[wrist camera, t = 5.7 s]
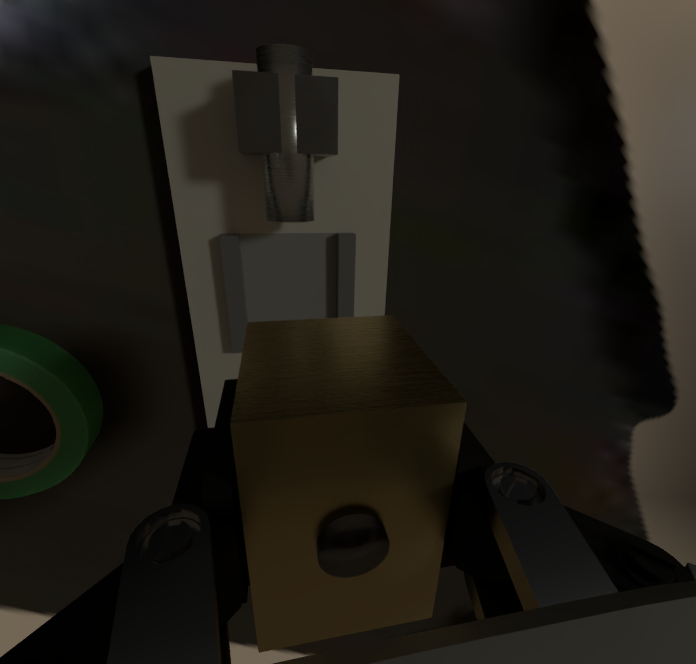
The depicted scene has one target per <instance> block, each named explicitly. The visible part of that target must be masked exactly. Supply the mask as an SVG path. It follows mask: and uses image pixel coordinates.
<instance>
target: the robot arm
mask: <svg viewBox="0 0 696 664" xmlns="http://www.w3.org/2000/svg"><path fill="white" fill-rule="evenodd" d="M237 381H238V379H229V380H225V382H224V386H223V391H222V395H221V400H220V404H219V409H218V413H217V418H216V422H215V426H214V427H213V428H203V429H196V430H195V431H194V433H193V436H192V439H191V443H190V446H189V449H188V453H187V456H186V459H185V463H184V466H183V469H182V473H181V476H180V479H179V483H178V486H177V490H176V493H175V496H174V500H173V503H172V505H169V506H167V507H164V508H161V509H159V510H157V511H155V512H154V513H152V514H150V515H149V516H147V517H146V518H145V519H144V520H143V521H141V522H140V523H139V524H138V525H137V526H136V528H135V529H134V530H133V532H132V533H131V535H130V536H129V539H128V542H127V545H126V548H125V554H124V561H123V563H122V564H121V565H120V566H118V567H117V568H116V569H115V570H113V571H112V572H111V573H109V574H108V575H107V576H105V577H104V578H103V579H102V580H100V581H99V582H98V583H96V584H95V585H94V586H92V587H91V588H90V589H89V590H87V591H86V592H85V593H83V594H82V595H81V596H79V597H78V598H77V599H76V600H74V601H73V602H72V603H70V604H69V605H68V606H66V607H65V608H64V609H63V610H61V611H60V612H59V613H57V614H56V615H55V616H54V617H52V618H51V619H50V620H48V621H47V622H46V623H44V624H43V625H42V626H41V627H39V628H38V629H37V630H35V631H34V632H33V633H31V634H30V635H29V636H28V637H26V638H25V639H24V640H23V641H21V642H20V643H18V644H17V645H16V646H15V647H13V648H12V649H11V650H10V651H8V652H7V653H6V654H4V655H3V656H2V657H0V664H231V658H230V646H229V635H228V624H227V622H228V621H229V619H230V618H231V617H232V616H233V615H234V614H235V613H236V612H237V611H238V609H239V608H240V607H241V605H242V603H246V602H247V593H248V585H250V578H249V571H248V563H247V555H246V547H245V539H244V531H243V523H242V515H241V507H240V499H239V491H238V483H237V475H236V467H235V459H234V451H233V443H232V435H231V428H230V422H231V416H232V410H233V404H234V398H235V393H236V387H237ZM453 565H456V567H457V568H458V569H460V570H462V571H464V575H465V581H466V584H467V588H468V592H469V595H470V599H471V602H472V606H473V609H474V613H475V616H476V620H477V621H472V622H467V623H463V624H458V625H453V626H448V627H443V628H439V629H434V630H429V631H424V632H419V633H415V634H410V635H405V636H400V637H396V638H391V639H386V640H381V641H377V642H372V643H367V644H362V645H358V646H353V647H348V648H343V649H339V650H334V651H329V652H325V653H320V654H315V655H311V656H306V657H301V658H297V659H292V660H287V661H283V662H278V663H274V664H696V565H693V564H690V563H687V565H686V566H685V567H684V566H683V565H682V564H681V563H679V562H678V561H677V560H676V559H675V558H674V557H673V556H671V555H670V554H669V553H667V552H666V551H664V550H663V549H661V548H660V547H658V546H656V545H654V544H652V543H650V542H648V541H646V540H644V539H641V538H639V537H637V536H634V535H632V534H629V533H627V532H625V531H622V530H620V529H618V528H615V527H613V526H611V525H608V524H606V523H604V522H601V521H599V520H597V519H594V518H592V517H589V516H587V515H585V514H582V513H580V512H578V511H575V510H573V509H571V508H568V507H566V506H564V505H563V504H562V503H561V501H560V500H559V498H558V497H557V495H556V494H555V492H554V490H553V489H552V487H551V486H550V484H549V483H548V482H547V481H546V480H545V478H544V477H542V476H541V475H540V474H538V473H537V472H536V471H534V470H532V469H530V468H528V467H526V466H524V465H520V464H517V463H512V462H498V463H495V462H494V461H493V460H492V458H491V457H490V456H489V454H488V453H487V452H486V450H485V449H484V448H483V446H482V445H481V444H480V443H479V441H478V440H477V439H476V437H475V436H474V435H473V433H472V432H471V431H470V429H469V428H468V427H467V426H466V424H465V423H463V429H462V435H461V442H460V448H459V454H458V460H457V466H456V472H455V478H454V485H453V491H452V497H451V503H450V509H449V515H448V521H447V527H446V534H445V540H444V546H443V552H442V558H441V564H440V567H441V568H442V567H448V566H453Z"/></svg>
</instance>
